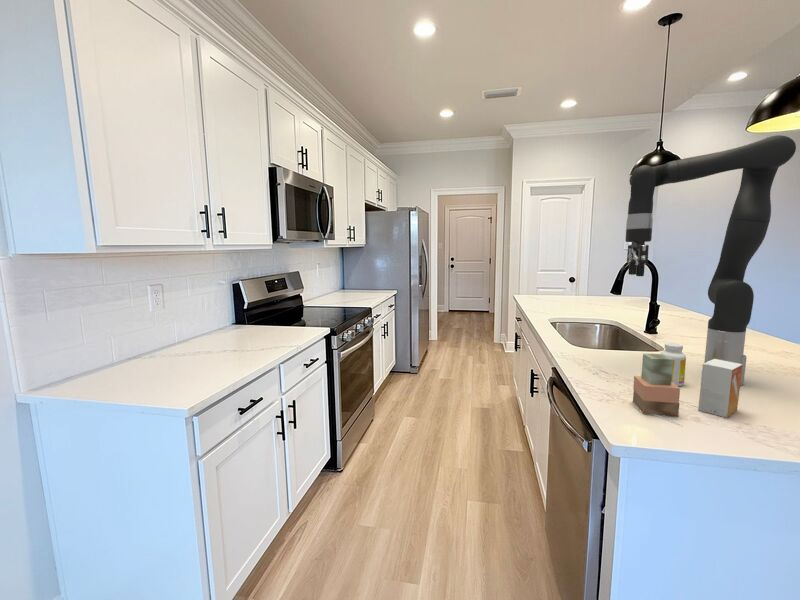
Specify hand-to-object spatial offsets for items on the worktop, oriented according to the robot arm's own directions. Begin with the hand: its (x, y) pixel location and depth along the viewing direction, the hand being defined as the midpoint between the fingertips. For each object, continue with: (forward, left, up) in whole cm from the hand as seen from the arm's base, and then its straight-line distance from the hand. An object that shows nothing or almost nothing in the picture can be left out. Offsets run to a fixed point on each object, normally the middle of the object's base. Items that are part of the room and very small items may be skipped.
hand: (635, 275), depth 128 cm
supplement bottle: (-9, +11, -34) cm, 37 cm away
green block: (+3, +34, -26) cm, 43 cm away
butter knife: (-1, +44, -35) cm, 56 cm away
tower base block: (+3, +34, -34) cm, 49 cm away
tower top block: (+3, +34, -30) cm, 46 cm away
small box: (-13, +31, -34) cm, 48 cm away
